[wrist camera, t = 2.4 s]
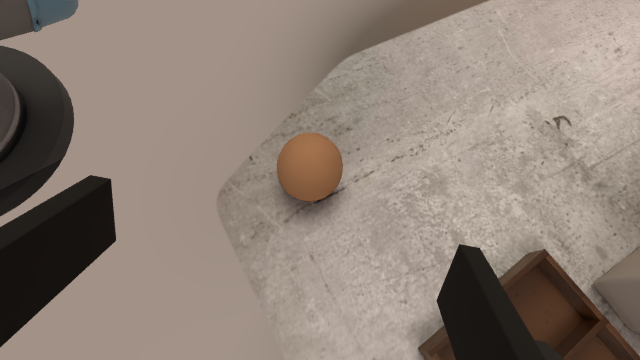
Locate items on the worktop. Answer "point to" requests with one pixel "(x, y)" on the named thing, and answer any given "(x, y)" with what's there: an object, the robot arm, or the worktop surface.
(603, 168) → the worktop surface
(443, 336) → the compartment tray
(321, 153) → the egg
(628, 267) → the grey compartment organizer
